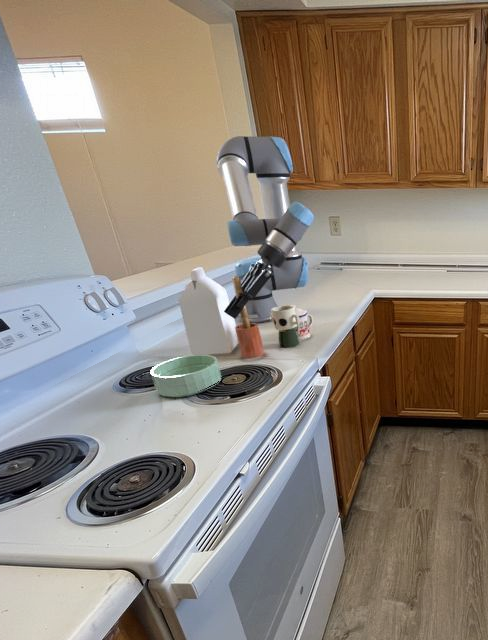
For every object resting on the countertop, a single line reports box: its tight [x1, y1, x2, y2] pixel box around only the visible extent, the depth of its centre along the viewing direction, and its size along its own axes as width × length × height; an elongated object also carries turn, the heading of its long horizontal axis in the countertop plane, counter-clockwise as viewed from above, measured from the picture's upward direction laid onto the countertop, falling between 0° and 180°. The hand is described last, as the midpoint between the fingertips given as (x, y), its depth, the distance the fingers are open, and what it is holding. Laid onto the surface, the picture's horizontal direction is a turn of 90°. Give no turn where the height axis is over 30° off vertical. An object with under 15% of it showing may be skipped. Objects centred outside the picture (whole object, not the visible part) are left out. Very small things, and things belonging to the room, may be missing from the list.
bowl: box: [150, 354, 223, 398], centre depth 109 cm, size 15×15×6 cm
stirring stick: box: [231, 275, 251, 329], centre depth 124 cm, size 2×2×24 cm
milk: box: [178, 266, 239, 355], centre depth 130 cm, size 12×12×26 cm
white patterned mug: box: [290, 304, 314, 341], centre depth 143 cm, size 12×9×12 cm
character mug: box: [270, 304, 300, 349], centre depth 134 cm, size 11×7×13 cm, turn 68°
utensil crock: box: [235, 323, 265, 359], centre depth 127 cm, size 6×6×10 cm
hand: (229, 315), depth 121 cm, fingers closed on stirring stick, 2 cm apart
